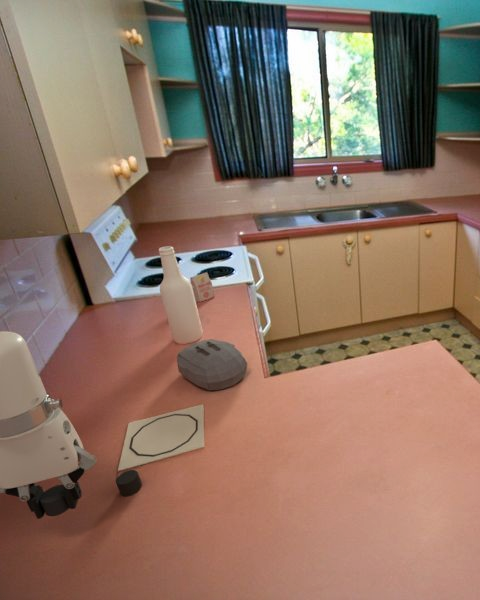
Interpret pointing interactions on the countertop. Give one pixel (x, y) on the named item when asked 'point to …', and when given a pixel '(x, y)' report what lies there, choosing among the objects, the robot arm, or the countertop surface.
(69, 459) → the robot arm
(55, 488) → the cylinder
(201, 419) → the sheet
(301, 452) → the countertop surface
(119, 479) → the cylinder
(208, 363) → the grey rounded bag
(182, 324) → the alcohol
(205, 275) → the small printed carton
